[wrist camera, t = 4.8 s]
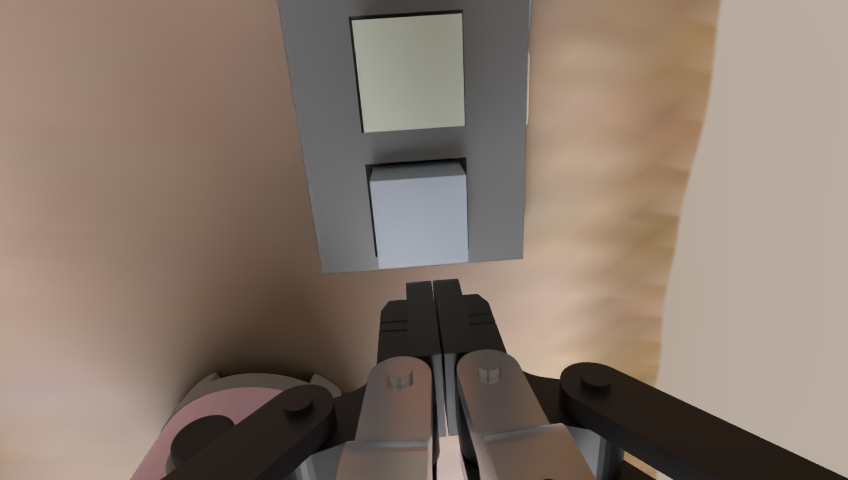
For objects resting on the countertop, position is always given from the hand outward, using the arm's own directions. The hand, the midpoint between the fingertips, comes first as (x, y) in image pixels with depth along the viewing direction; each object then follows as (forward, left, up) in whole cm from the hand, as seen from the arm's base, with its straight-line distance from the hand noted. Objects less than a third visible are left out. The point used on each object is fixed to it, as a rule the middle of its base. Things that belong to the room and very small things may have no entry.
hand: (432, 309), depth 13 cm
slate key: (0, 0, -10) cm, 10 cm away
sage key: (-6, 0, -10) cm, 12 cm away
